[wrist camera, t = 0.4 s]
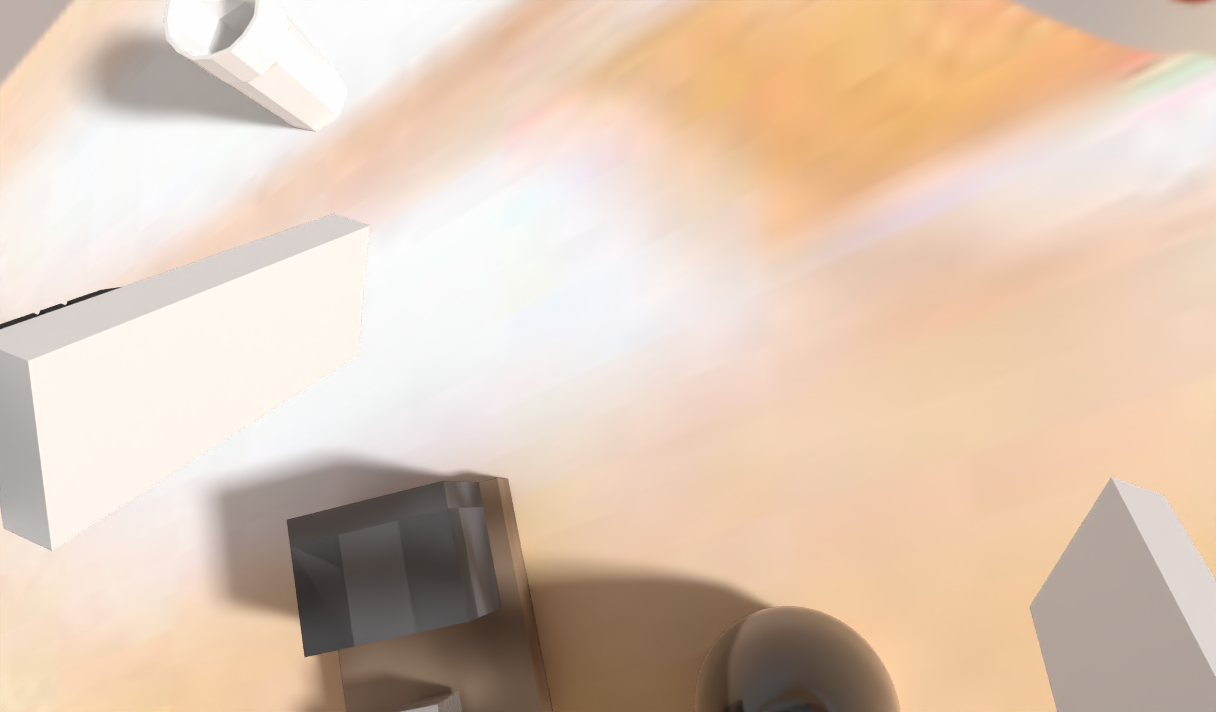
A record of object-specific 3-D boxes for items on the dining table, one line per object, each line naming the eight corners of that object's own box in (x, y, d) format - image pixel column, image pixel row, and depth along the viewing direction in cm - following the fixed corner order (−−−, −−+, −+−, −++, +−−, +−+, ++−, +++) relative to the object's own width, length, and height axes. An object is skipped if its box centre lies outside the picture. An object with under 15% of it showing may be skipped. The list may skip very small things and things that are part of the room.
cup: (357, 131, 56) (260, 46, 46) (275, 148, 57) (162, 69, 47) (354, 48, 58) (259, -53, 47) (274, 67, 59) (163, -27, 48)
